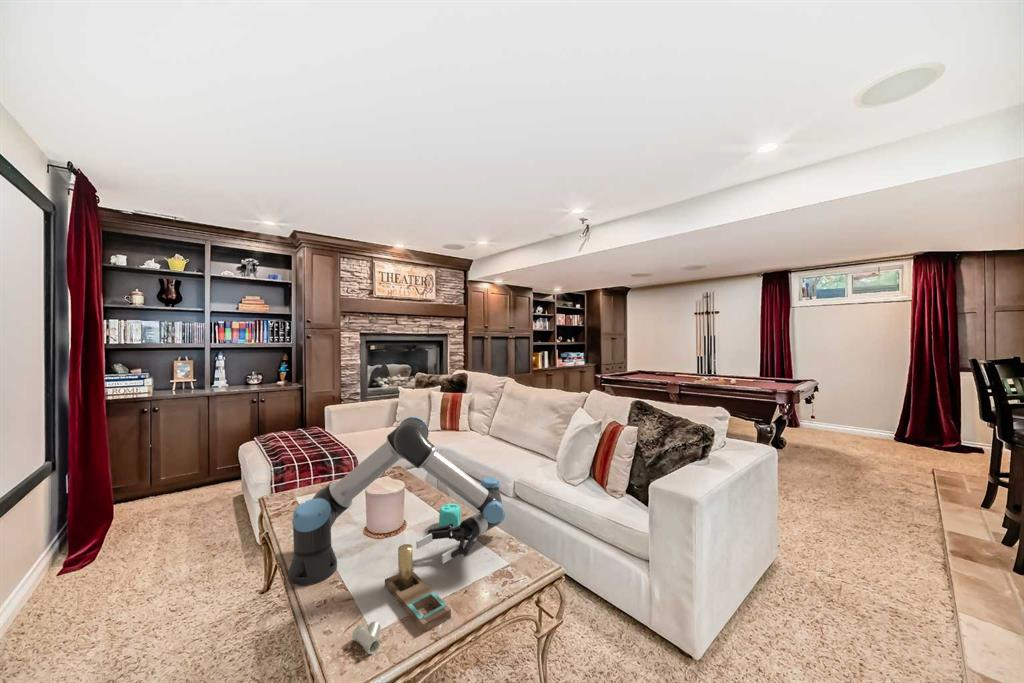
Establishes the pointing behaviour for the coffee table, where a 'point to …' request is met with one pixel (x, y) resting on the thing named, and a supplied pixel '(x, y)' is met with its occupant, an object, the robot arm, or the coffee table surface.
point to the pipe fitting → (368, 637)
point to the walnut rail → (419, 602)
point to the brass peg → (405, 567)
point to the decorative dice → (450, 515)
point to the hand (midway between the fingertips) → (429, 551)
